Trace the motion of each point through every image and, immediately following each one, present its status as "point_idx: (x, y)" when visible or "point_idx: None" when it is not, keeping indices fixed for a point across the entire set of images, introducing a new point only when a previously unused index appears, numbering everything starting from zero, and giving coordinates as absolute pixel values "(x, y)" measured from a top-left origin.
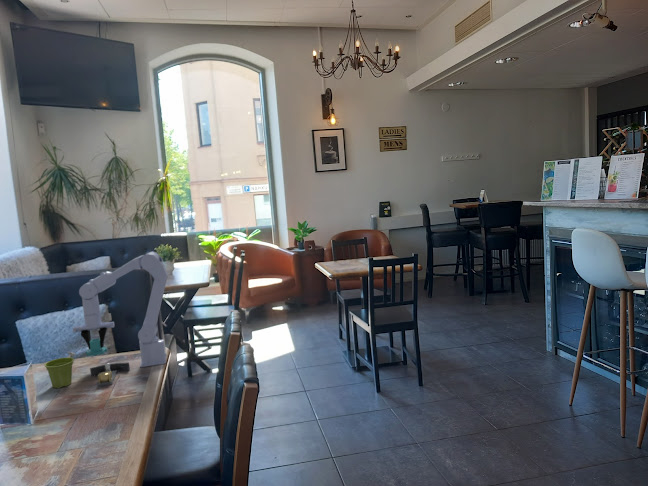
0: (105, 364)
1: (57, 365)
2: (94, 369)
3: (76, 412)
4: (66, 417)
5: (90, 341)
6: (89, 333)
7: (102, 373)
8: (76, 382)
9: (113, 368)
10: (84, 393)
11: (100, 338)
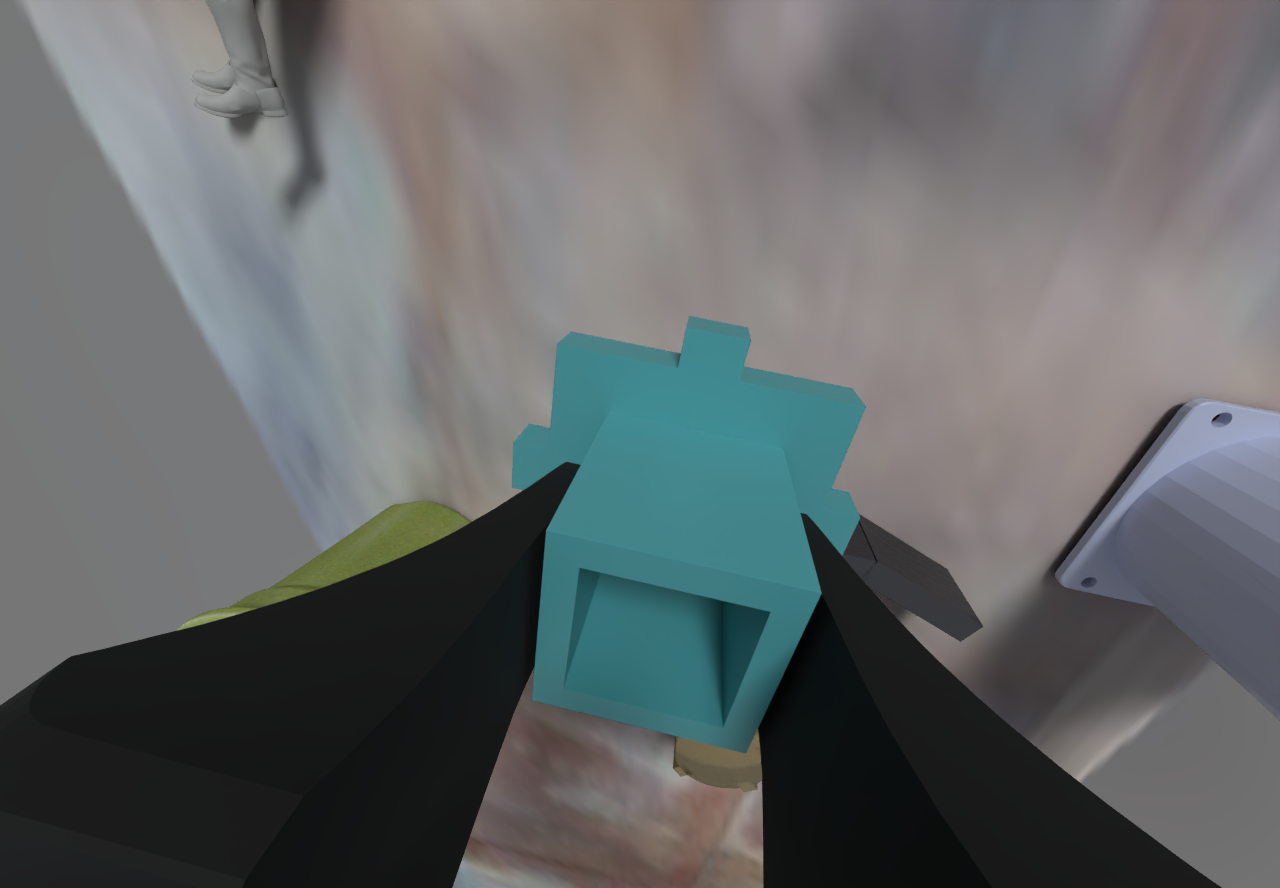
0: None
1: (288, 585)
2: None
3: (587, 864)
4: (556, 872)
5: (547, 675)
6: (421, 798)
7: (707, 748)
8: None
9: None
10: (601, 742)
11: (776, 814)
